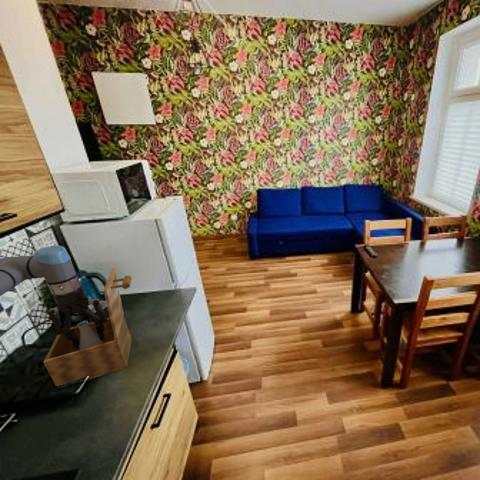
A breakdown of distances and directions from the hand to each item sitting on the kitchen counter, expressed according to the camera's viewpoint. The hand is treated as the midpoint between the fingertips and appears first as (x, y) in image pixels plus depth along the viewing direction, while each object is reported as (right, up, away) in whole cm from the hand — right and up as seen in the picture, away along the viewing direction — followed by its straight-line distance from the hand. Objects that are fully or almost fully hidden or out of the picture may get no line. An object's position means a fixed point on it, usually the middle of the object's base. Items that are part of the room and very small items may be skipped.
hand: (90, 341), depth 99 cm
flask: (0, -2, +1) cm, 2 cm away
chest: (0, -9, +4) cm, 10 cm away
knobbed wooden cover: (+9, +15, -1) cm, 17 cm away
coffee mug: (-13, -1, +23) cm, 26 cm away
